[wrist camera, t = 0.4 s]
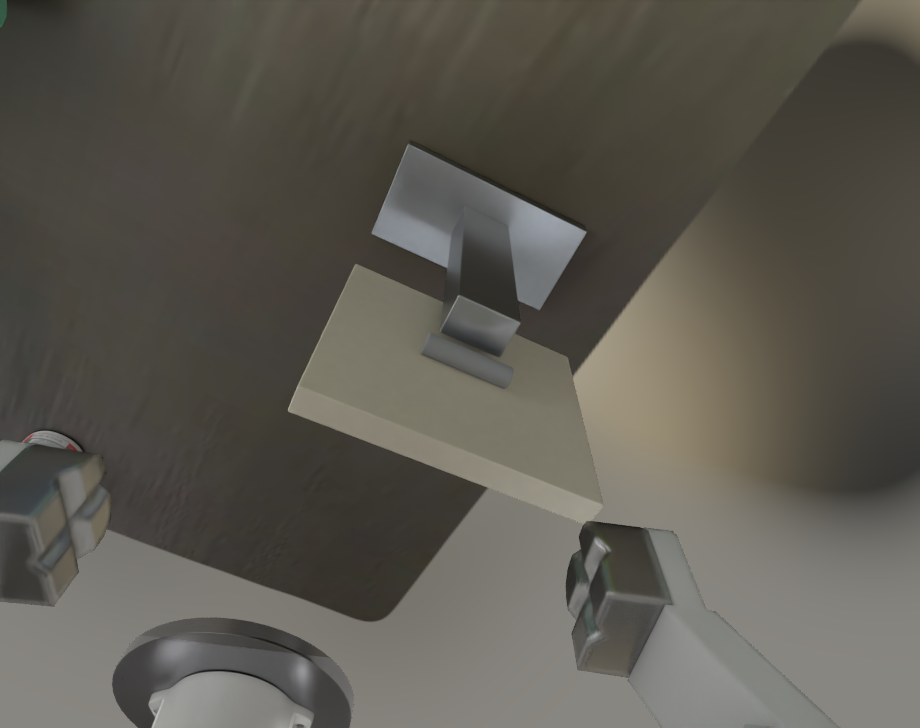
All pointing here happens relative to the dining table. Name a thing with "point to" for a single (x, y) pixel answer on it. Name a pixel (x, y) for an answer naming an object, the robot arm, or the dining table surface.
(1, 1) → the mug
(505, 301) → the display stand
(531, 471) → the screen
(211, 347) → the dining table surface
